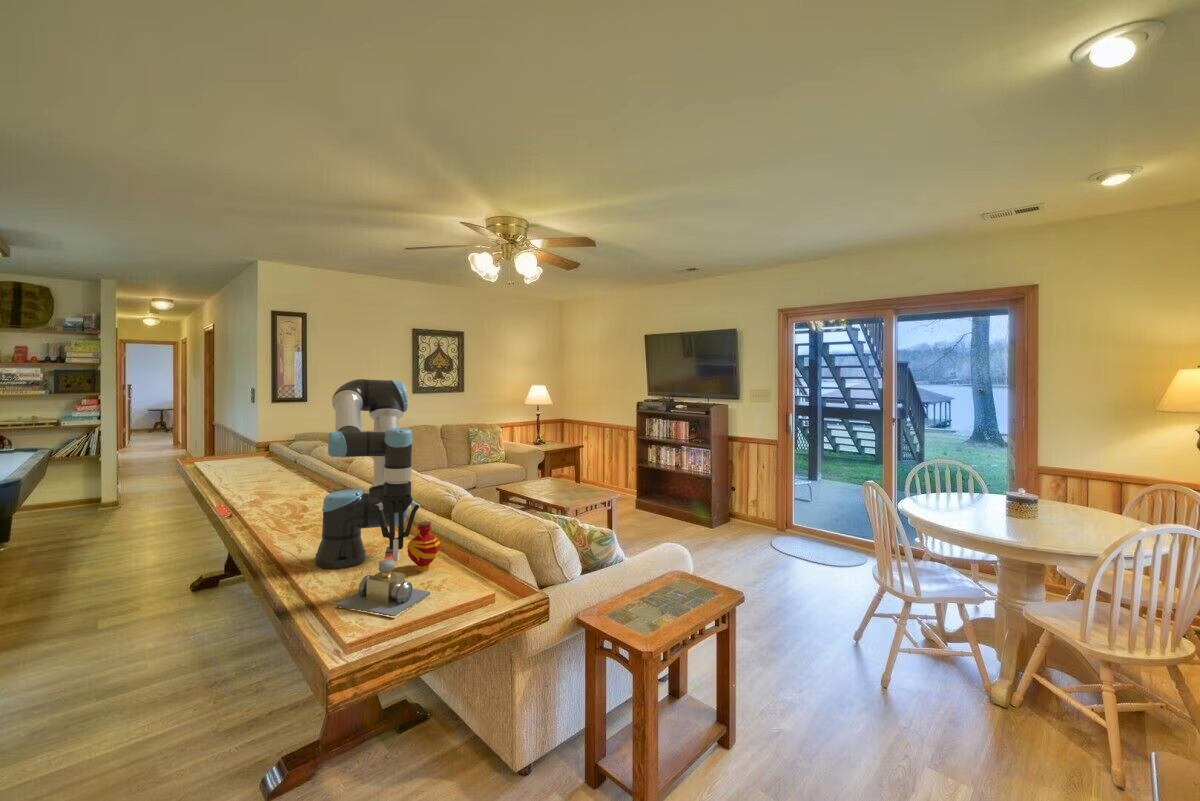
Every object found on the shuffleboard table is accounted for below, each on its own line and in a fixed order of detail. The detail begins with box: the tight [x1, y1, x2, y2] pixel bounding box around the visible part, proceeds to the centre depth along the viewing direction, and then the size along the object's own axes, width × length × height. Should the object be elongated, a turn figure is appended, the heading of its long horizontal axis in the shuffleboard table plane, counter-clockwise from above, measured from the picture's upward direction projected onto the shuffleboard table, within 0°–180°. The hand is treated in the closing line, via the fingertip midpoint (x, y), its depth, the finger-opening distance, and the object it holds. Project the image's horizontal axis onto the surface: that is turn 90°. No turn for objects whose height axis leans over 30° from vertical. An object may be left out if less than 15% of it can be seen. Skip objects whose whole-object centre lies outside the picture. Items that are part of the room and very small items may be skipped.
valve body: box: [358, 570, 414, 605], centre depth 143 cm, size 14×7×8 cm, turn 75°
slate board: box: [336, 588, 431, 616], centre depth 143 cm, size 18×16×1 cm
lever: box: [378, 546, 396, 572], centre depth 148 cm, size 16×4×2 cm, turn 18°
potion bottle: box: [406, 520, 441, 572], centre depth 168 cm, size 10×10×15 cm
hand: (396, 559), depth 152 cm, fingers closed
